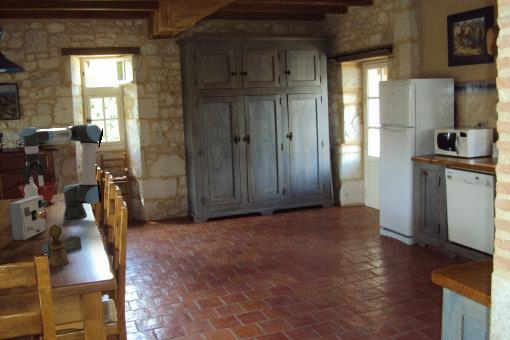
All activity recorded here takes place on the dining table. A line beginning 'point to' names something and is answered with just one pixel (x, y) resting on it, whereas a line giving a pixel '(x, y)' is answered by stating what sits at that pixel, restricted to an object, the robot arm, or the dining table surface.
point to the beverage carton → (69, 243)
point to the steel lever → (33, 229)
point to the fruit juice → (31, 192)
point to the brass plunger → (40, 215)
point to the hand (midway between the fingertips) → (35, 187)
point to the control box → (26, 217)
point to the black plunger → (43, 203)
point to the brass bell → (57, 248)
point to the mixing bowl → (43, 191)
